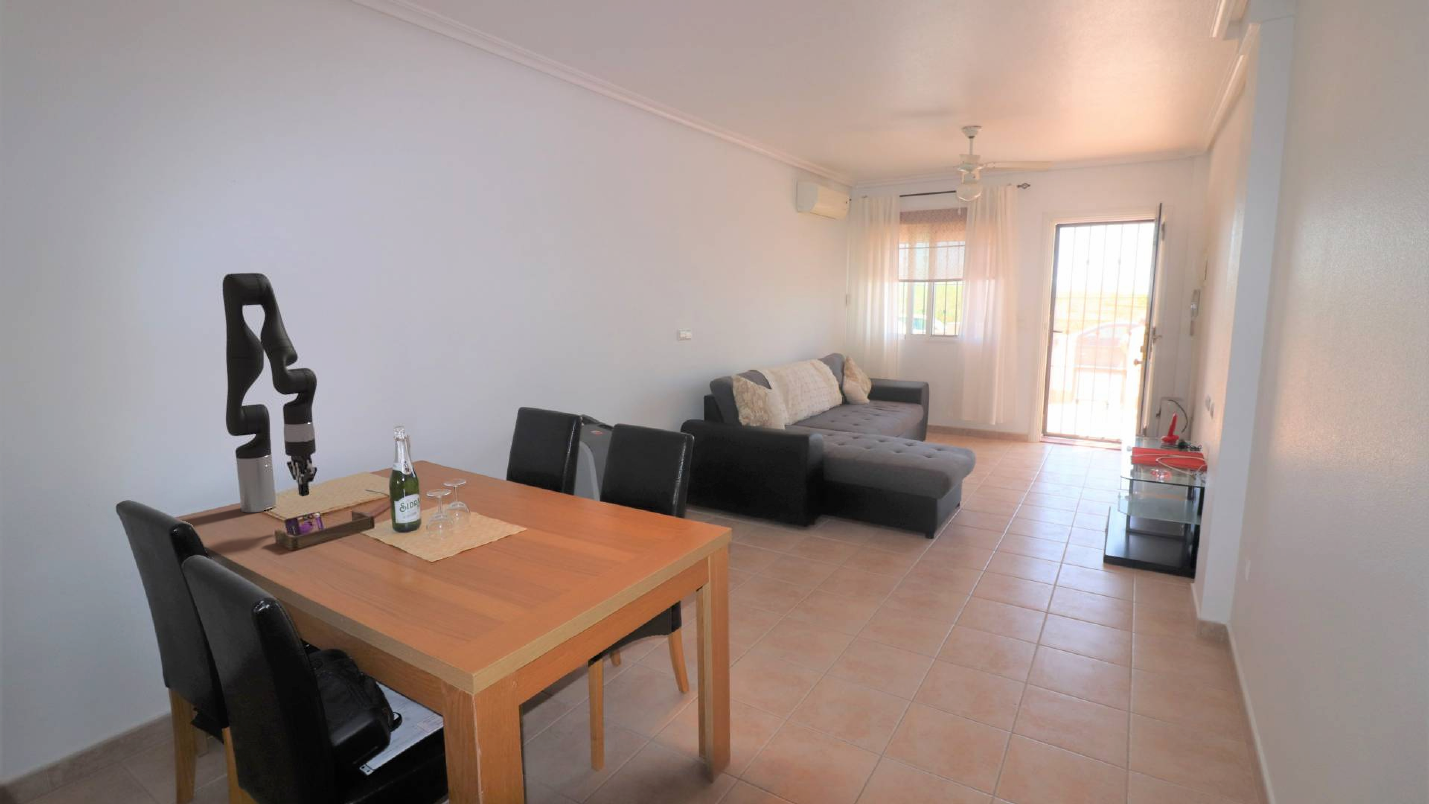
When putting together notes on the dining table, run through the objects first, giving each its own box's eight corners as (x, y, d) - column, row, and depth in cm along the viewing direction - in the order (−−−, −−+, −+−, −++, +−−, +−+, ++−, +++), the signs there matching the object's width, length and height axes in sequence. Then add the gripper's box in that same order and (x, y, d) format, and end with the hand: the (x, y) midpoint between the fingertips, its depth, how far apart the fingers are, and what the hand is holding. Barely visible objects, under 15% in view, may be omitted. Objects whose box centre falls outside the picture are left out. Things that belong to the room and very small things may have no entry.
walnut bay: (275, 542, 183) (274, 530, 183) (355, 520, 201) (354, 509, 201) (294, 550, 178) (293, 538, 177) (374, 527, 196) (373, 516, 195)
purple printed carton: (285, 519, 183) (320, 511, 190) (278, 521, 186) (312, 513, 193) (291, 543, 182) (325, 534, 189) (284, 545, 185) (318, 536, 193)
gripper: (274, 436, 192) (279, 494, 195) (297, 443, 185) (302, 503, 188) (301, 432, 199) (306, 488, 202) (325, 438, 192) (329, 496, 195)
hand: (304, 495), depth 195 cm, fingers closed
